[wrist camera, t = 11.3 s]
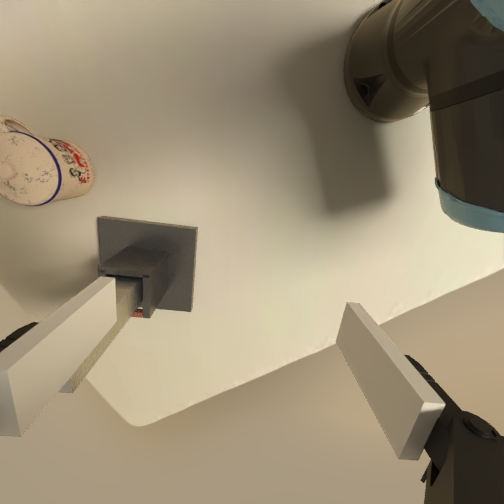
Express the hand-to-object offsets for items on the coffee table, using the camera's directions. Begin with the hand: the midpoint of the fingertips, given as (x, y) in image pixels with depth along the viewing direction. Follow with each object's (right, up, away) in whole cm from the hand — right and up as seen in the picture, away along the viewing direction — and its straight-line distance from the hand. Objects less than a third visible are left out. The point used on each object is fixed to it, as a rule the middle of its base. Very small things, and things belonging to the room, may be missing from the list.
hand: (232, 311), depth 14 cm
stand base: (-17, +1, +31) cm, 36 cm away
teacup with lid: (-29, +18, +26) cm, 43 cm away
